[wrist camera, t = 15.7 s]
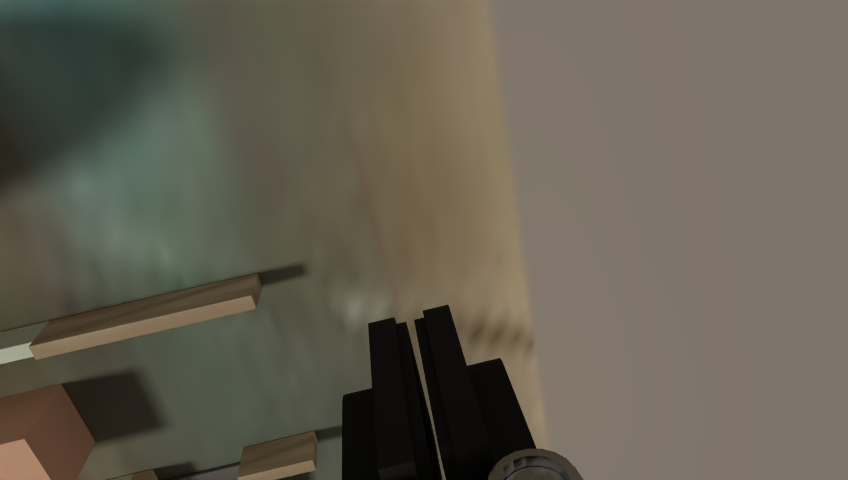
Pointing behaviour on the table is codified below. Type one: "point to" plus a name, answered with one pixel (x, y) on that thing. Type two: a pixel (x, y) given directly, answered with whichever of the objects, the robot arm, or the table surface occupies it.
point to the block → (42, 436)
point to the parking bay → (170, 311)
